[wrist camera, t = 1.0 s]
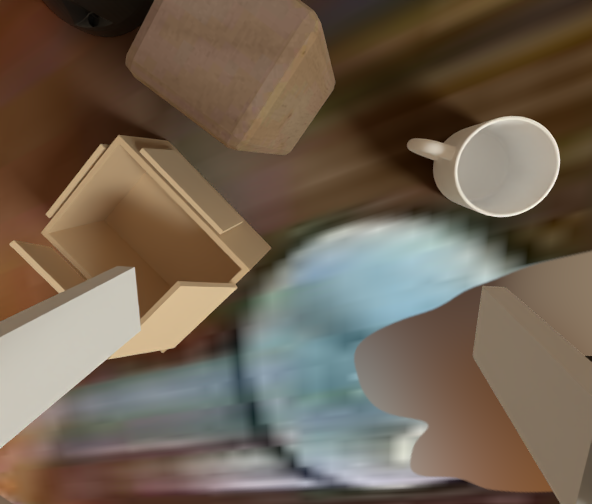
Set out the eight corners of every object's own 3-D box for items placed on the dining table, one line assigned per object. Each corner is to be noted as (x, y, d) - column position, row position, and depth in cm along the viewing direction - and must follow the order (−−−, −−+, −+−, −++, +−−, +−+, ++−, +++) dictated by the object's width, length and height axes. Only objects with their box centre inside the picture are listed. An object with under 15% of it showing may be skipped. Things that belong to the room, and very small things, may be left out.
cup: (491, 214, 43) (532, 229, 33) (388, 181, 43) (397, 186, 34) (525, 140, 40) (579, 133, 31) (415, 107, 41) (434, 89, 31)
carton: (96, 215, 50) (34, 228, 40) (167, 130, 46) (117, 122, 36) (198, 318, 51) (161, 354, 41) (276, 243, 47) (255, 264, 37)
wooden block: (287, 159, 45) (235, 156, 25) (218, 107, 44) (113, 64, 25) (339, 83, 42) (326, 15, 23) (266, 27, 42) (190, -89, 22)
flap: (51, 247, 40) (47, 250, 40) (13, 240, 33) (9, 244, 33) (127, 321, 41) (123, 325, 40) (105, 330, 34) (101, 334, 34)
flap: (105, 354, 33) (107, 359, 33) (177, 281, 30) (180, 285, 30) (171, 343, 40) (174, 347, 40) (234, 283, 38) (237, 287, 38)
